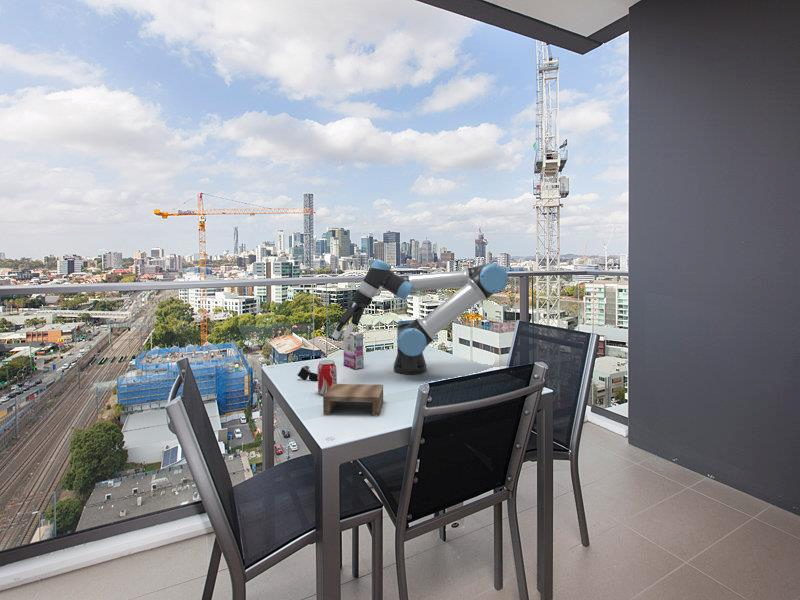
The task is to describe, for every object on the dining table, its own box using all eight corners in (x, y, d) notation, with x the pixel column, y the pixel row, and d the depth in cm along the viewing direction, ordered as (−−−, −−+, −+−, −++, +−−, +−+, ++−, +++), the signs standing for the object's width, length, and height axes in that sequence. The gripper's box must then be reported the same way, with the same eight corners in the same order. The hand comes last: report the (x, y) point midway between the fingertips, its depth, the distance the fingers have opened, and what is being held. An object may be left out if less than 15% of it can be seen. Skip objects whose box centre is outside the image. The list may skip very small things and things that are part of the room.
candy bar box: (364, 368, 190) (363, 333, 188) (355, 370, 187) (354, 335, 185) (352, 364, 199) (351, 330, 197) (343, 365, 196) (342, 331, 194)
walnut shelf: (383, 401, 144) (383, 384, 143) (378, 415, 130) (378, 397, 130) (333, 400, 145) (332, 383, 145) (323, 414, 131) (323, 396, 131)
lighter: (315, 385, 172) (322, 375, 171) (313, 387, 169) (320, 376, 168) (299, 373, 173) (305, 363, 172) (297, 375, 171) (303, 364, 170)
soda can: (328, 397, 148) (327, 365, 147) (313, 394, 152) (313, 362, 151) (340, 392, 154) (340, 361, 153) (326, 389, 158) (326, 358, 157)
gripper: (366, 291, 183) (342, 331, 184) (348, 286, 158) (321, 333, 159) (380, 299, 181) (356, 340, 182) (364, 296, 157) (336, 343, 158)
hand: (339, 337), depth 171 cm, fingers open, 13 cm apart
